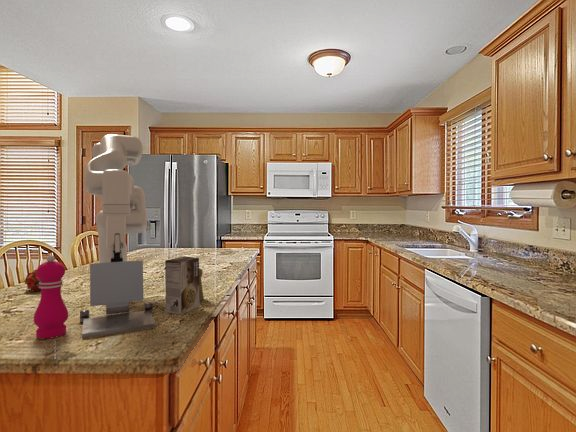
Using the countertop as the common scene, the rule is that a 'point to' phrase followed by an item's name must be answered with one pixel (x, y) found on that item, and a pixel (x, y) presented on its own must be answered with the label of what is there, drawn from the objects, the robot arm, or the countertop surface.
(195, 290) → the coffee box
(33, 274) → the dragon fruit
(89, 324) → the hinge base
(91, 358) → the countertop surface
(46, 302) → the pepper mill
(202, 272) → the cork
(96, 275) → the panel
